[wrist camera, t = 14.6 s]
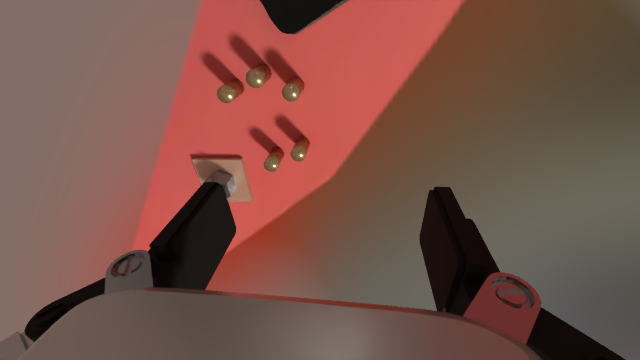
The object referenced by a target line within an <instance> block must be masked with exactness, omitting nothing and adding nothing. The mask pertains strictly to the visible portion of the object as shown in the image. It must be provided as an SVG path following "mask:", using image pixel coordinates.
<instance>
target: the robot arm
mask: <svg viewBox="0 0 640 360" xmlns="http://www.w3.org/2000/svg"><path fill="white" fill-rule="evenodd" d="M235 233H236V225H235V222H234V219H233V216H232V213H231V210H230V207H229V203H228V200H227V197H226V194H225V191H224V188H223V186H222V185H220V184H219V183H218V182H204V183H203V184H202V186H201V187H200V188H199V189H198V190H197V191H196V192H195V194H194V195H193V196H192V197H191V198H190V199H189V200H188V202H187V203H186V204H185V205H184V206H183V207H182V208H181V209H180V211H179V212H178V213H177V214H176V215H175V216H174V217H173V219H172V220H171V221H170V222H169V223H168V224H167V225H166V227H165V228H164V229H163V230H162V231H161V232H160V233H159V235H158V236H157V237H156V238H155V239H154V240H153V241H152V243H151V244H150V245H149V246H150V247H151V249H150V250H149V251H148V252H147V251H145V250H134V251H131V252H128V253H126V254H124V255H122V256H120V257H119V258H117V259H116V260H115V261H114V262H113V263H112V264H111V265H110V266H109V267H108V269H107V272H106V277H105V278H103V279H101V280H99V281H97V282H95V283H93V284H91V285H88V286H86V287H84V288H82V289H80V290H78V291H75V292H73V293H71V294H69V295H67V296H65V297H63V298H61V299H58V300H56V301H54V302H52V303H51V304H49V305H47V306H45V307H44V308H43V309H41V310H40V311H39V312H37V313H36V314H35V315H34V316H33V317H32V319H31V320H30V321H29V322H28V324H27V326H26V328H25V332H23V333H21V334H20V333H19V332H16V333H14V334H13V335H11V336H10V337H8V338H7V339H5V340H3V341H2V342H0V360H625V359H623V358H622V357H621V356H619V355H617V354H616V353H614V352H613V351H611V350H609V349H608V348H606V347H605V346H603V345H601V344H600V343H598V342H596V341H595V340H593V339H592V338H590V337H588V336H587V335H585V334H583V333H582V332H580V331H579V330H577V329H575V328H574V327H572V326H570V325H569V324H567V323H566V322H564V321H562V320H561V319H559V318H558V317H556V316H554V315H553V314H551V313H550V312H548V311H546V310H545V309H543V308H541V299H540V297H539V294H538V293H537V292H536V290H535V289H534V288H533V287H532V286H531V285H530V284H529V283H528V282H526V281H525V280H523V279H521V278H520V277H517V276H515V275H512V274H509V273H504V272H500V271H499V269H498V267H497V265H496V263H495V261H494V259H493V257H492V256H491V254H490V252H489V250H488V248H487V246H486V244H485V242H484V240H483V239H482V237H481V235H480V233H479V231H478V229H477V227H476V225H475V223H474V222H473V220H471V219H466V218H465V216H464V214H463V212H462V210H461V208H460V206H459V204H458V202H457V200H456V198H455V196H454V194H453V192H452V190H451V189H450V187H435V188H434V190H430V191H429V194H428V198H427V203H426V208H425V213H424V218H423V222H422V228H421V232H420V245H421V249H422V253H423V257H424V261H425V265H426V268H427V273H428V277H429V280H430V284H431V288H432V292H433V296H434V300H435V304H436V308H437V311H432V310H426V309H417V308H408V307H398V306H389V305H378V304H367V303H356V302H344V301H333V300H321V299H310V298H297V297H285V296H273V295H260V294H248V293H236V292H223V291H210V290H205V289H206V287H207V285H208V283H209V281H210V279H211V278H212V276H213V274H214V272H215V270H216V269H217V267H218V265H219V263H220V261H221V259H222V258H223V256H224V254H225V252H226V250H227V248H228V246H229V245H230V243H231V241H232V239H233V237H234V235H235Z"/></svg>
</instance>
